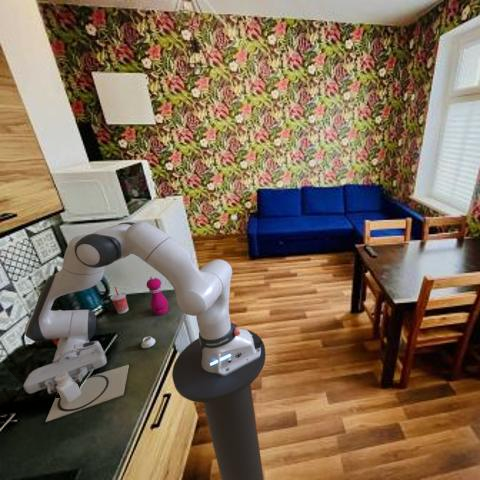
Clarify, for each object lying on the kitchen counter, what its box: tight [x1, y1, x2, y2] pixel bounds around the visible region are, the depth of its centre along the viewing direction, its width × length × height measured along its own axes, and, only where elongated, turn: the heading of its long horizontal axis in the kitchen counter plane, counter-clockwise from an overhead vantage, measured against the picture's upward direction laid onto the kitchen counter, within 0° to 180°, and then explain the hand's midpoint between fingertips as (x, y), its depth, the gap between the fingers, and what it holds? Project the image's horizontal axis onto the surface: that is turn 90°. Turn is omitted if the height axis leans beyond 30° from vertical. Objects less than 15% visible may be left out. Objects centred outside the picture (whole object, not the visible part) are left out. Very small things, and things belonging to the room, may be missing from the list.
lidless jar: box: [141, 336, 156, 349], centre depth 111 cm, size 5×3×5 cm
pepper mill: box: [146, 275, 169, 316], centre depth 129 cm, size 7×7×20 cm
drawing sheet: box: [45, 364, 130, 423], centre depth 92 cm, size 20×14×1 cm
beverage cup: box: [109, 286, 130, 315], centre depth 130 cm, size 6×6×14 cm
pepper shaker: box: [55, 372, 81, 403], centre depth 85 cm, size 4×4×10 cm
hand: (65, 385), depth 84 cm, fingers closed on pepper shaker, 5 cm apart
